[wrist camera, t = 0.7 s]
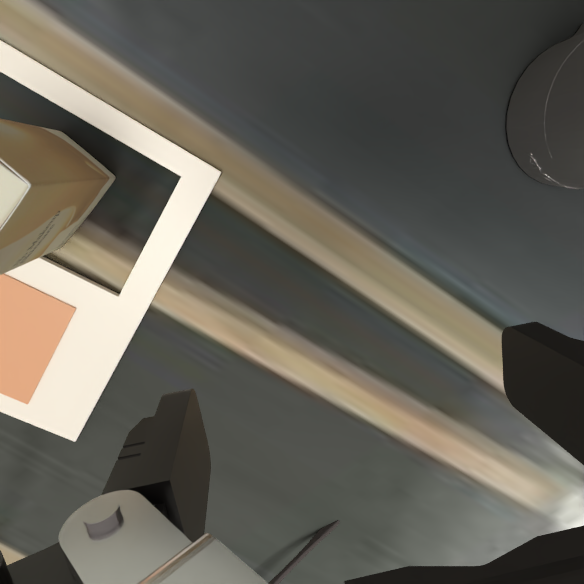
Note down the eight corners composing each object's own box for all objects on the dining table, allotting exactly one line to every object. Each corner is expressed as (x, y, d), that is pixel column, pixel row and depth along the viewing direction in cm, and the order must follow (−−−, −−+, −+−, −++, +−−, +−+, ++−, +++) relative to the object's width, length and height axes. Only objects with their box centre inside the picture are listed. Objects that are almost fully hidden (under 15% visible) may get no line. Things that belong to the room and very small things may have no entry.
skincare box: (61, 250, 29) (-62, 313, 17) (0, 205, 28) (-176, 240, 16) (122, 173, 28) (34, 185, 16) (61, 123, 27) (-80, 98, 15)
